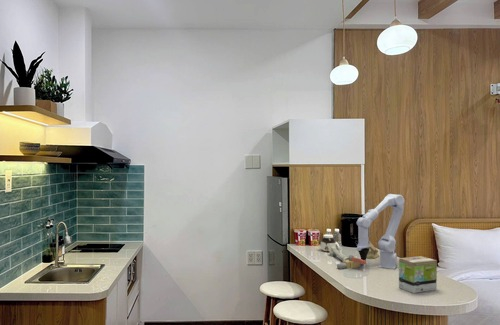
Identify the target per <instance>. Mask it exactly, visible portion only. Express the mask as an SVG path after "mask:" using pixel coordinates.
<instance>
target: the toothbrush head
mask: <svg viewBox="0 0 500 325" xmlns="http://www.w3.org/2000/svg"><path fill="white" fill-rule="evenodd" d="M329 252H330V253H329V256H330V257H334V258H335V257H338V258H339V259H340V260H341V261H344V260H348V259H349V256H347V255H345V254H344V253H342V252H341V250H340V251H338V250H337V248H336V247H331V250H330V251H329Z"/></svg>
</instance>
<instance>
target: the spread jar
mask: <svg viewBox="0 0 500 325" xmlns="http://www.w3.org/2000/svg"><path fill="white" fill-rule="evenodd" d="M331 247H336V248H337V250H338V251H340V252H341V247H340V244H339V243H338V242H337V241H336V239H335V238H334V235H333V234H326V233H325V234H323V237H322V238H321V240H320V249H321V252H324V253H327V254H328V253H329V254H330V252H329V251H330V250H331Z"/></svg>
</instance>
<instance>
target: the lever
mask: <svg viewBox="0 0 500 325" xmlns="http://www.w3.org/2000/svg"><path fill="white" fill-rule="evenodd" d="M348 258H349V261H354V262H358V263H361V264H365V265H367V260H366V261H365V260H362V259H361V258H357V257H355V256H354V255H348Z"/></svg>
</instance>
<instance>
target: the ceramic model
mask: <svg viewBox="0 0 500 325" xmlns="http://www.w3.org/2000/svg"><path fill="white" fill-rule="evenodd" d="M369 244H370V247H368V248H367V249H369V252H368V254H367V257H366V259H376V258H378V257H380V254H378V253H379V251H378V249H377V248H375V246H374V244H373V243H372V241H369Z"/></svg>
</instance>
